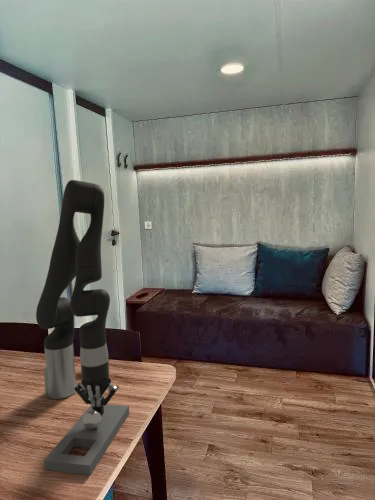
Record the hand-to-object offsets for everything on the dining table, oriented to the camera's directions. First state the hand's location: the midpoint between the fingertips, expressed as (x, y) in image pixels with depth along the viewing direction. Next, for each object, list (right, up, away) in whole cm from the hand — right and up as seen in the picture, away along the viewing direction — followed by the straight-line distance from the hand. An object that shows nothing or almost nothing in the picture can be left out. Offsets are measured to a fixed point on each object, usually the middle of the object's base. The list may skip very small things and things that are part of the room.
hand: (98, 416), depth 102 cm
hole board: (-1, -4, -4) cm, 6 cm away
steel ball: (-1, +1, -4) cm, 4 cm away
